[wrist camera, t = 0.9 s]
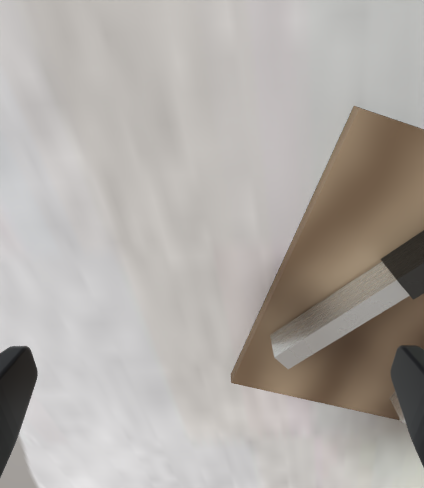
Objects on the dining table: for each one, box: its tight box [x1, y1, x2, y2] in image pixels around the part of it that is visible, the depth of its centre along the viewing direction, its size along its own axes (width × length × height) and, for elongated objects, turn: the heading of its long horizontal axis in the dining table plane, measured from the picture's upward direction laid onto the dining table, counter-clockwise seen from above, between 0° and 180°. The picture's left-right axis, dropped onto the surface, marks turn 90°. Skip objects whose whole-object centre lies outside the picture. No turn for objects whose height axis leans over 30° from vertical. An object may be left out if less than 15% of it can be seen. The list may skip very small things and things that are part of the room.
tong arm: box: [270, 230, 424, 369], centre depth 21 cm, size 2×14×2 cm, turn 133°
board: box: [231, 106, 424, 420], centre depth 23 cm, size 15×20×1 cm
